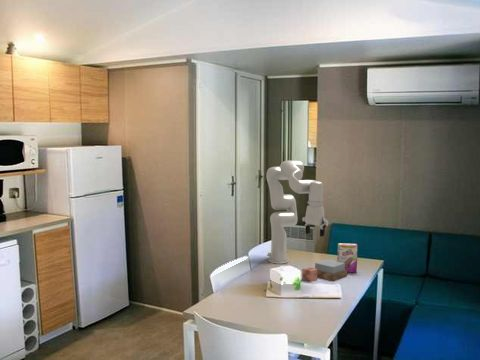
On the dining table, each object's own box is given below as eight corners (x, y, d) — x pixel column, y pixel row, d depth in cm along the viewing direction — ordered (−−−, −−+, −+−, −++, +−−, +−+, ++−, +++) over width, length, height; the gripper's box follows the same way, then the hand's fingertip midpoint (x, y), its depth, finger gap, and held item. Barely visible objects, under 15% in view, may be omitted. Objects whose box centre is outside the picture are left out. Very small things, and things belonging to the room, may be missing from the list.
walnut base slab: (312, 276, 267) (312, 269, 267) (326, 271, 277) (326, 265, 277) (333, 282, 258) (333, 275, 257) (346, 277, 268) (347, 270, 267)
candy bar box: (337, 272, 275) (338, 244, 273) (336, 269, 280) (337, 242, 278) (357, 273, 274) (358, 245, 272) (355, 270, 279) (356, 243, 277)
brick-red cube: (301, 279, 260) (302, 268, 259) (308, 277, 264) (308, 266, 264) (310, 281, 256) (311, 271, 255) (317, 279, 260) (317, 269, 260)
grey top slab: (314, 269, 267) (315, 262, 266) (326, 265, 275) (326, 259, 275) (333, 274, 259) (333, 267, 258) (344, 270, 267) (344, 263, 267)
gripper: (298, 202, 260) (298, 233, 262) (324, 206, 248) (323, 238, 250) (307, 201, 266) (306, 231, 267) (332, 205, 253) (331, 236, 255)
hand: (314, 234), depth 258 cm, fingers open, 9 cm apart
